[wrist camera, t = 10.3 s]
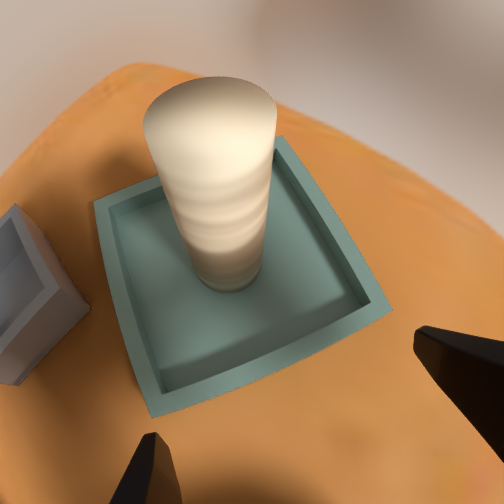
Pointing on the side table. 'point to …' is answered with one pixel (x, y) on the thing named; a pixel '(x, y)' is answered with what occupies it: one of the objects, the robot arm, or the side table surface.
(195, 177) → the rounded wooden peg
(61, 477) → the side table surface
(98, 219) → the green-grey tray
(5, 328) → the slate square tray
